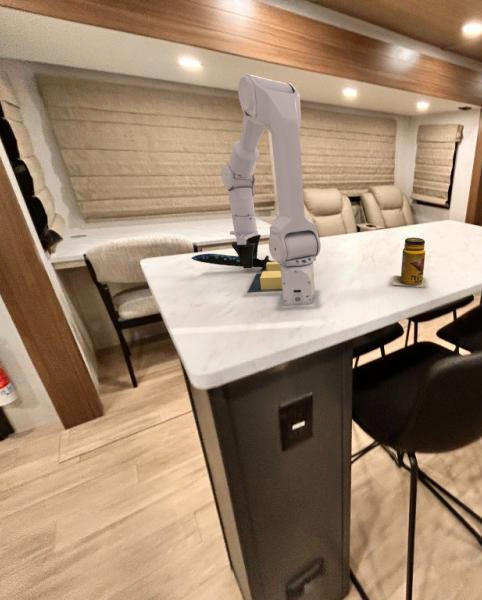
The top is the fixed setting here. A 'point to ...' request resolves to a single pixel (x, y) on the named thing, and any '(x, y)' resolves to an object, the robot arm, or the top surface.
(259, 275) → the butter dish
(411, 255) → the condiment
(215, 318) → the top surface
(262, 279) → the yellow rectangular block
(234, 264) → the knife
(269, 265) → the butter pat
